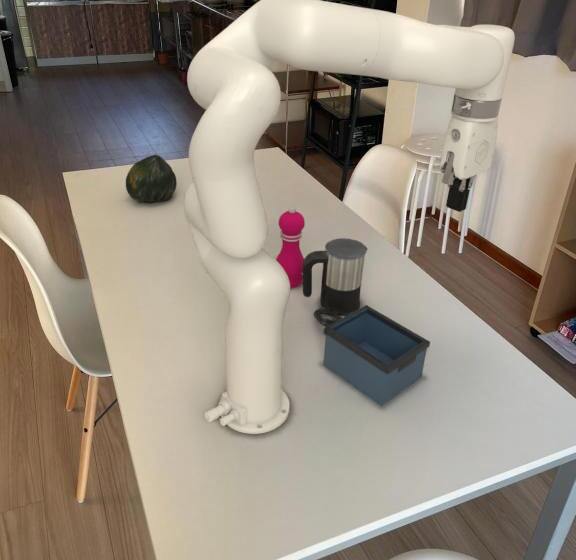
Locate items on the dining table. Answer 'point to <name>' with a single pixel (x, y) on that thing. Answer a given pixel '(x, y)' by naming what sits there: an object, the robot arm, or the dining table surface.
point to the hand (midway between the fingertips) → (455, 208)
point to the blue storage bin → (374, 353)
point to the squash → (151, 180)
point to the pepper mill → (291, 245)
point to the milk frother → (336, 277)
